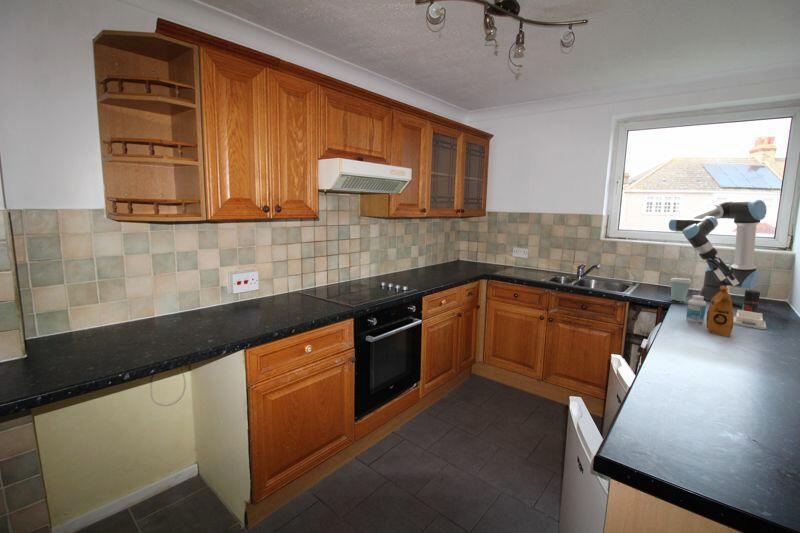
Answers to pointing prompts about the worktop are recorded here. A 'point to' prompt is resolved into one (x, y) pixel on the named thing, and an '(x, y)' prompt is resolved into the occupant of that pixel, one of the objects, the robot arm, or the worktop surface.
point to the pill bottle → (696, 309)
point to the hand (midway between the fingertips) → (729, 281)
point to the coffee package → (720, 314)
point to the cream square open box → (749, 319)
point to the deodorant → (751, 301)
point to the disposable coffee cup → (679, 288)
